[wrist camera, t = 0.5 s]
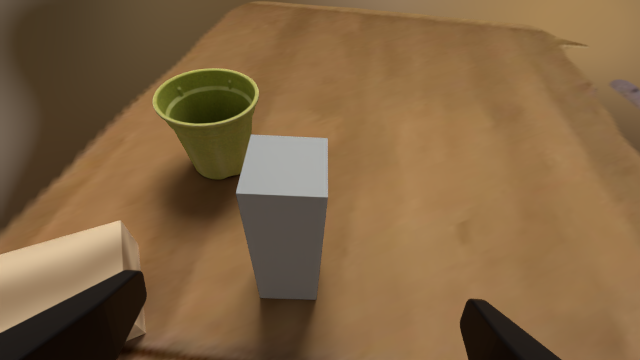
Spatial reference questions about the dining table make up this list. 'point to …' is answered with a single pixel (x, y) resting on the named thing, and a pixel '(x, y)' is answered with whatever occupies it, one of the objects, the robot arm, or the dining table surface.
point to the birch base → (64, 271)
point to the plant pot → (210, 117)
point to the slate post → (285, 212)
